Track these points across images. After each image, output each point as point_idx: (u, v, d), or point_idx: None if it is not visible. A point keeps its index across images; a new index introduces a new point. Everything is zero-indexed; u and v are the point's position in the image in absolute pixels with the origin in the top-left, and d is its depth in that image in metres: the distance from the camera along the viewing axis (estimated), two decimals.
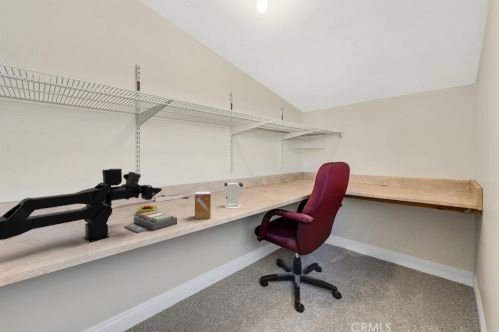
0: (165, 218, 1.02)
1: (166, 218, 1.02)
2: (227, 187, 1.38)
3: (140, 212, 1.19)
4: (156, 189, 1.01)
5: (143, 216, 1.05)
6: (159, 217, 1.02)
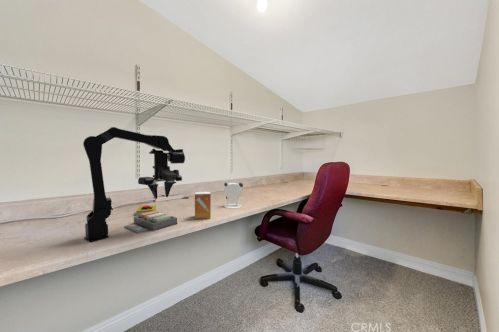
0: (165, 218, 1.02)
1: (166, 218, 1.02)
2: (227, 187, 1.38)
3: (139, 212, 1.19)
4: (154, 192, 0.99)
5: (143, 216, 1.05)
6: (159, 217, 1.02)
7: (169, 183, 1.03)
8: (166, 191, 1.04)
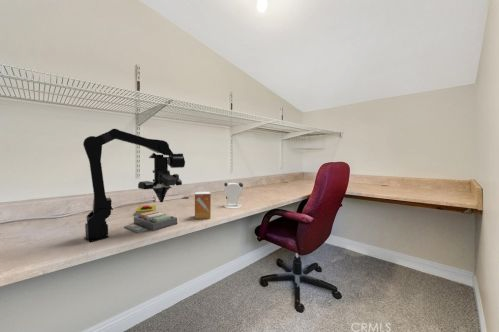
0: (165, 218, 1.02)
1: (166, 218, 1.02)
2: (227, 187, 1.38)
3: (139, 212, 1.19)
4: (159, 196, 1.01)
5: (143, 216, 1.05)
6: (159, 217, 1.02)
7: (164, 188, 1.01)
8: None
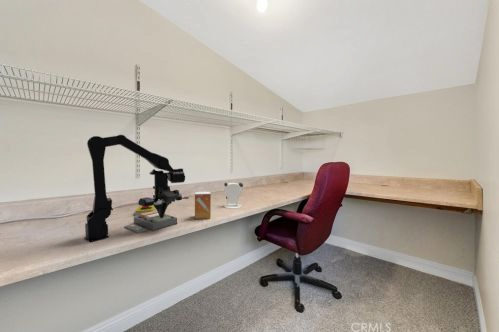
0: (165, 219, 1.02)
1: (166, 219, 1.02)
2: (227, 187, 1.38)
3: (138, 212, 1.19)
4: (160, 212, 1.01)
5: (143, 216, 1.05)
6: (159, 218, 1.02)
7: (164, 204, 1.02)
8: None
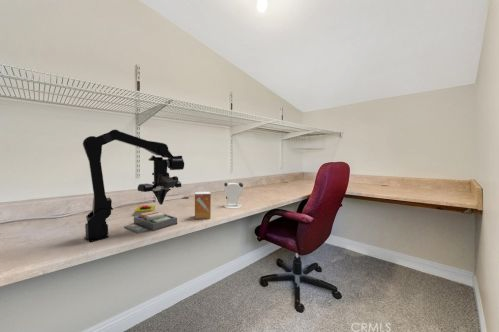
0: None
1: None
2: (227, 187, 1.38)
3: (138, 212, 1.19)
4: (159, 198, 1.01)
5: (143, 216, 1.05)
6: (159, 219, 1.02)
7: (164, 190, 1.02)
8: None
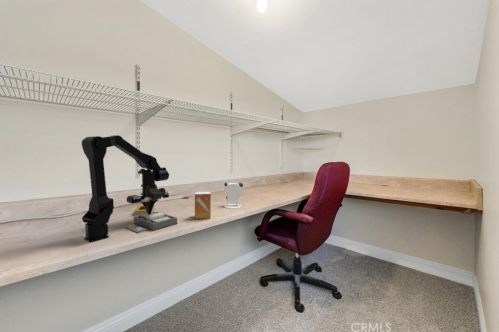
0: None
1: None
2: (227, 187, 1.38)
3: (137, 212, 1.19)
4: (147, 208, 1.07)
5: (143, 217, 1.06)
6: (159, 219, 1.02)
7: (151, 201, 1.08)
8: None
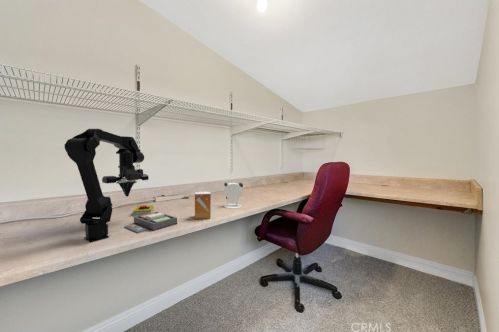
0: None
1: None
2: (227, 187, 1.38)
3: (136, 212, 1.19)
4: (124, 190, 1.04)
5: None
6: (159, 219, 1.02)
7: (129, 183, 1.05)
8: None
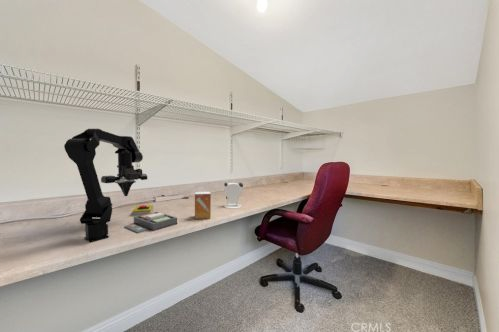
0: None
1: None
2: (227, 187, 1.38)
3: (136, 212, 1.19)
4: (123, 190, 1.04)
5: None
6: (159, 219, 1.02)
7: (128, 182, 1.05)
8: None
